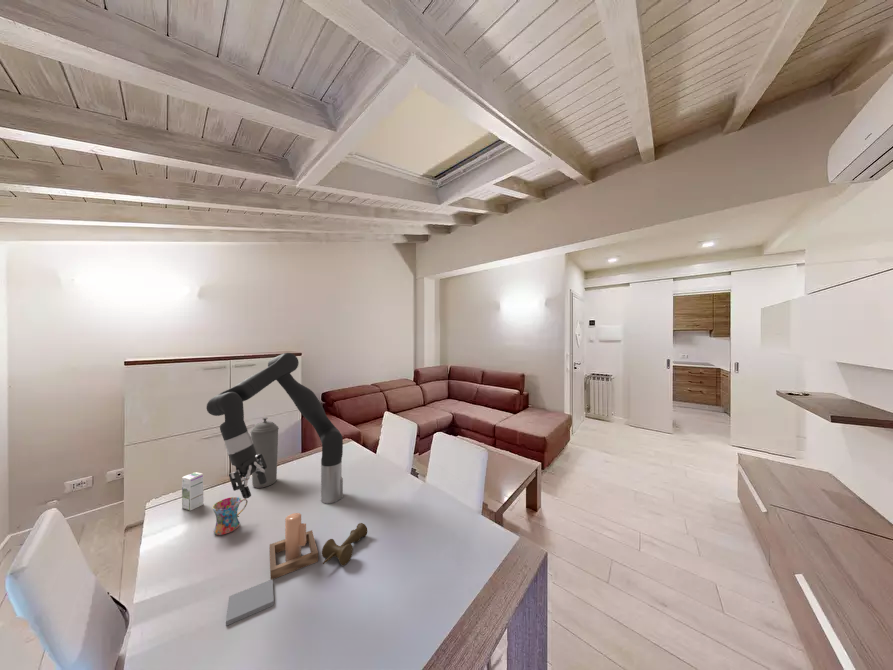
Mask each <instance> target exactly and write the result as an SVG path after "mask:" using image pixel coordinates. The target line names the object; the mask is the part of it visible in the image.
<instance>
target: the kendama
mask: <svg viewBox="0 0 893 670" xmlns="http://www.w3.org/2000/svg"><path fill="white" fill-rule="evenodd" d="M367 535H368V527H367V525H366V524H365V523H363V522H359V523H357V525H356V528H354V529H351V531H350V533H349V536H348V537H347V538H346V539H345V540H344V541H343V542H342V544H340V545H338V544H337V543H336V541H335V539H333V538H329V539H328V540H326V541H325V543H323V546H322V550H321V554H322V555H321V556H322V558H323V559H325V560H324V561H323V562H322V565H325V564H326V563H328V562H329V561H330V560H331V559H332V558H337V559H338V562H339V564H340V565H341V566H342V567H343V566H345V565H347V564H348V563H349V561H350V560H351V559H352V556H353V551H354V547H353V544H352V543H358V542H359V541H360V540H361V538H364V537H366V536H367Z"/></svg>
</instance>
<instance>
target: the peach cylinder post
mask: <svg viewBox="0 0 893 670" xmlns="http://www.w3.org/2000/svg"><path fill="white" fill-rule="evenodd" d="M284 522H285V523H284V524H285V528H284V531H285V533H284V534H285V550H284V551H285V552H284V553H285V554H284V556H285V557H284V562H287V561H290V560H292V559H295V558H298V557H300V556H302V547H305V546H306V544H307V542H306V532H307V523H302V514H301V513H300V512H293V513H291V514H289V515H287V516H286V517H285V520H284Z"/></svg>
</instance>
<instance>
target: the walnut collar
mask: <svg viewBox="0 0 893 670" xmlns="http://www.w3.org/2000/svg"><path fill="white" fill-rule="evenodd" d="M314 536H315V535H314V533H313V529H311V530H308V531H306V543H308V546H309V550H310V552H309V553H305V554H304V555H301V556H300V557H298V558H295V559H292V560H290V561H287V562H286V561H284V562H282V563H280V564H277V563H276V562H277V561H276V554H278V553H280V552H284V551H285V539H282V540H279V541H275V542H273V543H270V544H269V569H270V570H269V571H270V572H269V573H270V577H269V578H270V580H272V579H273V580H275V579H277V578H281V577H283V576H285V575H288V574H291V573H292V572H295V571H298V570H300V569H303V568H305V567H308V566H310V565H313V564H315V563H318V562H319V551H318V548H317V544H316V541H315V537H314Z"/></svg>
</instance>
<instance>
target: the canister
mask: <svg viewBox="0 0 893 670" xmlns="http://www.w3.org/2000/svg"><path fill="white" fill-rule="evenodd" d="M268 418H269V417H262V420H263V421H261V422H259V423H257V424H256V425H255V426H254V427H253V428H252V429H251V431H250V436H251V439H252V441H253V444H254V447H255V450H256V452H257V455H259V454H262V455H263V458H264V460H265V463H266V465H267V468H266V469H265V472H264V474H265V477H266V481H267V482H266V483H265V484H262V485H261V484H260V483H259V480H258V477H257V475H258V474H255V473H252V475H251V481H252V482H251V483H252V487H253V488H257V489H258V488H266V487H269V486H271V485H273V484H275V483H276V482H277V480H278V479H277V478H278V475H277V473H278V453H279V452H278V449H279V446H278V445H279V426H278V425H277V424H276V423H275V422H274V421H272V420H271V421H268ZM261 466H263V465H262V464H261Z"/></svg>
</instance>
